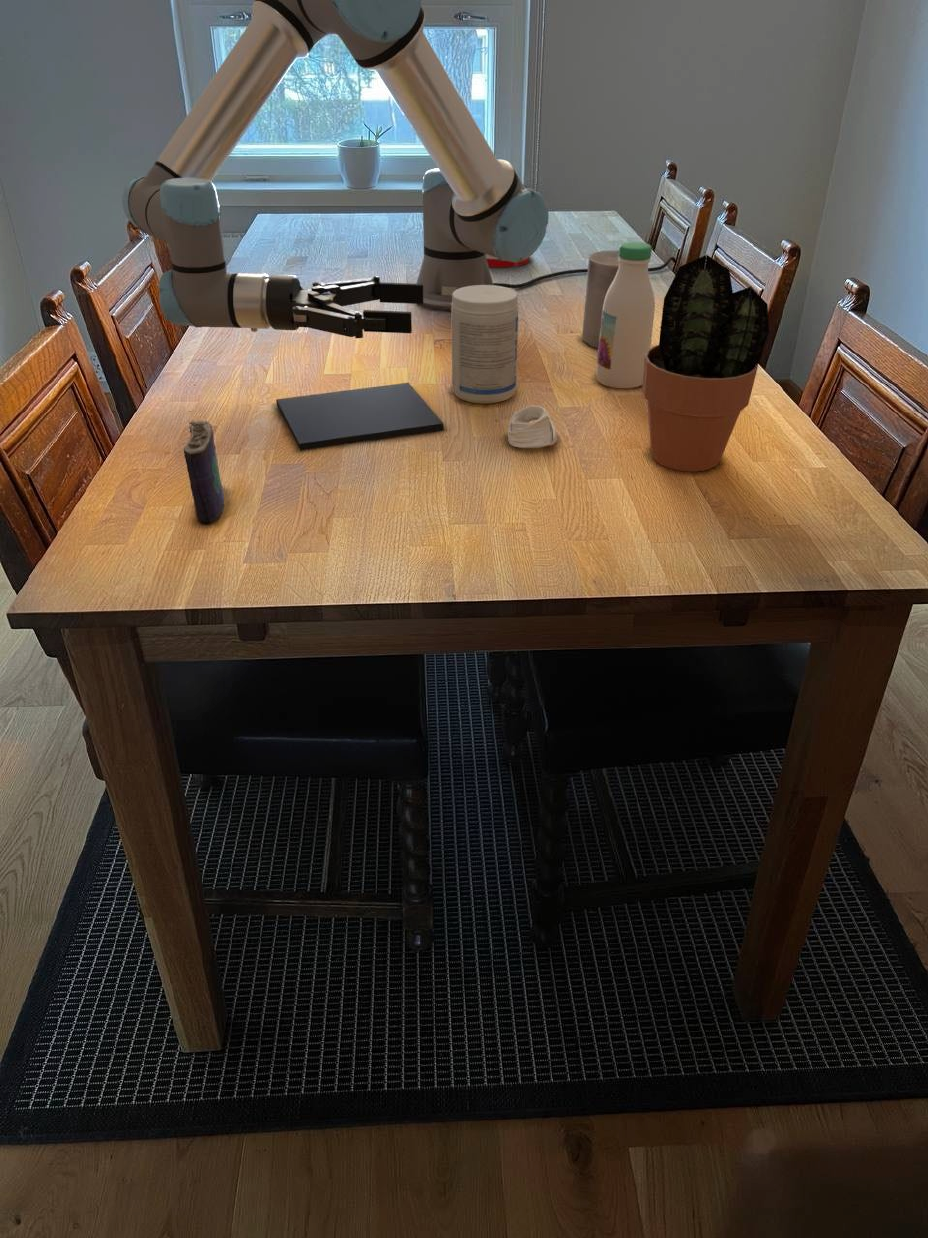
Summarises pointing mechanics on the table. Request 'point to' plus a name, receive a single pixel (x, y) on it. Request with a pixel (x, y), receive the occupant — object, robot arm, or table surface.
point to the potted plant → (702, 365)
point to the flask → (204, 473)
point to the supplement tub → (484, 343)
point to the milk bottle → (627, 320)
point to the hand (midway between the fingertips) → (417, 307)
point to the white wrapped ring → (531, 428)
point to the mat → (357, 416)
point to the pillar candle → (598, 292)
